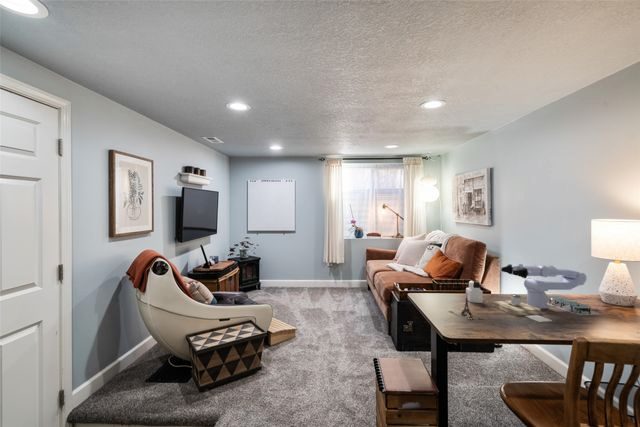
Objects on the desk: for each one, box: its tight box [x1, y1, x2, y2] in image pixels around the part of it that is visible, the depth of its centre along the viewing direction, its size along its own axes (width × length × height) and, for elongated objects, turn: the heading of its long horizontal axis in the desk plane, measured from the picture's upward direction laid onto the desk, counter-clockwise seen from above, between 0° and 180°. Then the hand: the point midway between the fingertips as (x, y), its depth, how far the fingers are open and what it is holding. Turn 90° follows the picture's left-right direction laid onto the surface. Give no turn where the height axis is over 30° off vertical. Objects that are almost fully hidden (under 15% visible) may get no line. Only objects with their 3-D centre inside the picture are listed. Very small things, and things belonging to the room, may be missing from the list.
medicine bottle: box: [465, 280, 484, 304], centre depth 182 cm, size 7×7×12 cm
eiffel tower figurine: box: [448, 292, 473, 320], centre depth 157 cm, size 15×10×13 cm
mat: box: [524, 314, 553, 323], centre depth 154 cm, size 8×8×1 cm
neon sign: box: [547, 296, 613, 316], centre depth 173 cm, size 21×4×29 cm
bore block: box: [491, 300, 541, 316], centre depth 167 cm, size 16×16×2 cm
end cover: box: [510, 294, 521, 307], centre depth 167 cm, size 4×4×8 cm
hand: (507, 271), depth 169 cm, fingers open, 7 cm apart
